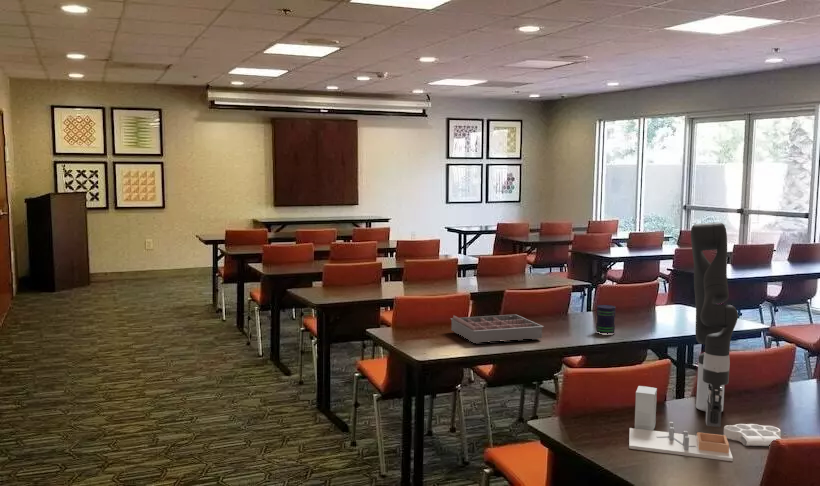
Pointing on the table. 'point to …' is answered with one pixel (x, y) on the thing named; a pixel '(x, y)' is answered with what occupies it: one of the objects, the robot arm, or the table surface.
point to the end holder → (709, 444)
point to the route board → (672, 443)
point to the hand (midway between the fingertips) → (713, 420)
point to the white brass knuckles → (752, 434)
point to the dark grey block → (708, 413)
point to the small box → (645, 408)
